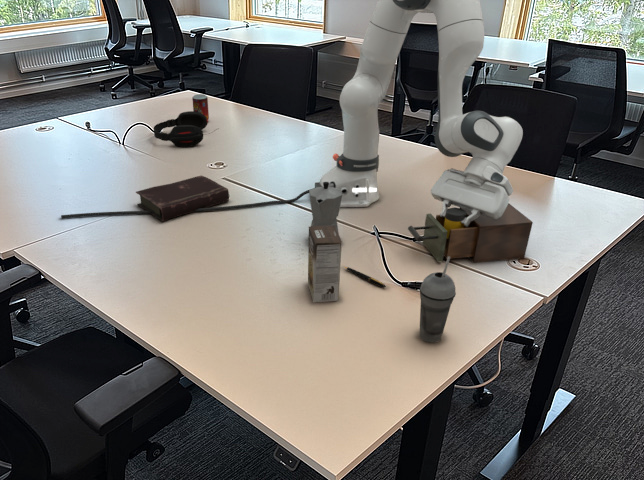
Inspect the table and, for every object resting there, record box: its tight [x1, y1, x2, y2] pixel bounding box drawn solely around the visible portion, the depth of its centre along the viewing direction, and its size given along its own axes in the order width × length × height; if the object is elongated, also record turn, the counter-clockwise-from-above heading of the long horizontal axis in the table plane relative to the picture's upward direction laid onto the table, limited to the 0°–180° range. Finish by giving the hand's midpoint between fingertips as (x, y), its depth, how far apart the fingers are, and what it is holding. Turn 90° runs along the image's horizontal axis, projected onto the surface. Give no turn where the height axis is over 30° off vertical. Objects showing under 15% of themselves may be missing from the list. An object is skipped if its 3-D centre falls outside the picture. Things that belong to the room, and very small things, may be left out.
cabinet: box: [459, 203, 534, 264], centre depth 158 cm, size 14×13×11 cm
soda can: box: [191, 93, 210, 121], centre depth 275 cm, size 7×7×12 cm
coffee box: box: [307, 225, 343, 303], centre depth 140 cm, size 9×6×16 cm
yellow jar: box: [444, 207, 466, 239], centre depth 155 cm, size 5×5×7 cm
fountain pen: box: [344, 266, 387, 288], centre depth 150 cm, size 14×1×2 cm, turn 40°
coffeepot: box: [308, 181, 343, 241], centre depth 164 cm, size 15×9×18 cm, turn 159°
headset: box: [153, 110, 218, 148], centre depth 253 cm, size 28×26×9 cm
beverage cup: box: [419, 256, 457, 344], centre depth 123 cm, size 7×7×20 cm
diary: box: [135, 175, 230, 222], centre depth 193 cm, size 19×25×5 cm
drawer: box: [407, 213, 479, 263], centre depth 157 cm, size 19×11×9 cm, turn 97°
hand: (453, 221), depth 155 cm, fingers closed on yellow jar, 5 cm apart
